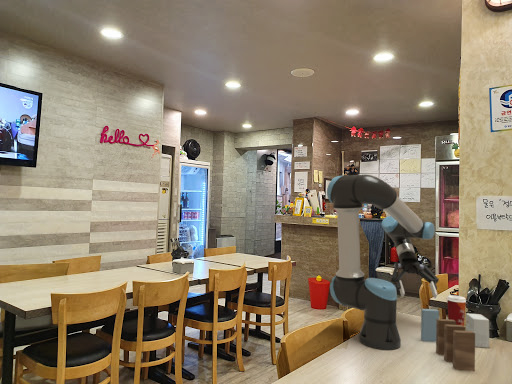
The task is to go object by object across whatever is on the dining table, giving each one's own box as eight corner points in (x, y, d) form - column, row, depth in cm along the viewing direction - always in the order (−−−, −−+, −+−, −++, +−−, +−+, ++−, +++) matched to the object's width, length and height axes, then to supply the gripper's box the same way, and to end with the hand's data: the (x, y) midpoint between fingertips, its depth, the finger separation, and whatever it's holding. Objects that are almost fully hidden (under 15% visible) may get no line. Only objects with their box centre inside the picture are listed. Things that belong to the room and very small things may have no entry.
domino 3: (452, 367, 121) (453, 330, 122) (471, 368, 121) (471, 331, 122) (455, 369, 119) (456, 332, 120) (474, 370, 119) (475, 333, 120)
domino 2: (444, 359, 127) (444, 324, 128) (461, 360, 127) (462, 325, 128) (446, 362, 125) (447, 326, 126) (464, 362, 125) (465, 327, 126)
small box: (489, 348, 139) (489, 320, 140) (473, 346, 140) (473, 318, 141) (481, 340, 147) (481, 314, 147) (465, 339, 148) (466, 312, 149)
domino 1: (435, 352, 133) (436, 319, 134) (452, 353, 133) (453, 319, 134) (438, 354, 131) (439, 320, 132) (455, 355, 131) (456, 321, 132)
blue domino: (420, 339, 146) (421, 308, 147) (436, 340, 146) (436, 309, 147) (423, 341, 144) (423, 310, 145) (438, 341, 144) (439, 311, 145)
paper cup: (465, 334, 154) (466, 300, 155) (445, 330, 159) (445, 297, 159) (466, 328, 161) (467, 296, 162) (446, 325, 165) (447, 293, 166)
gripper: (431, 261, 174) (446, 301, 158) (377, 259, 175) (387, 299, 159) (436, 251, 169) (452, 292, 153) (381, 249, 170) (391, 289, 154)
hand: (419, 295), depth 156 cm, fingers open, 13 cm apart
